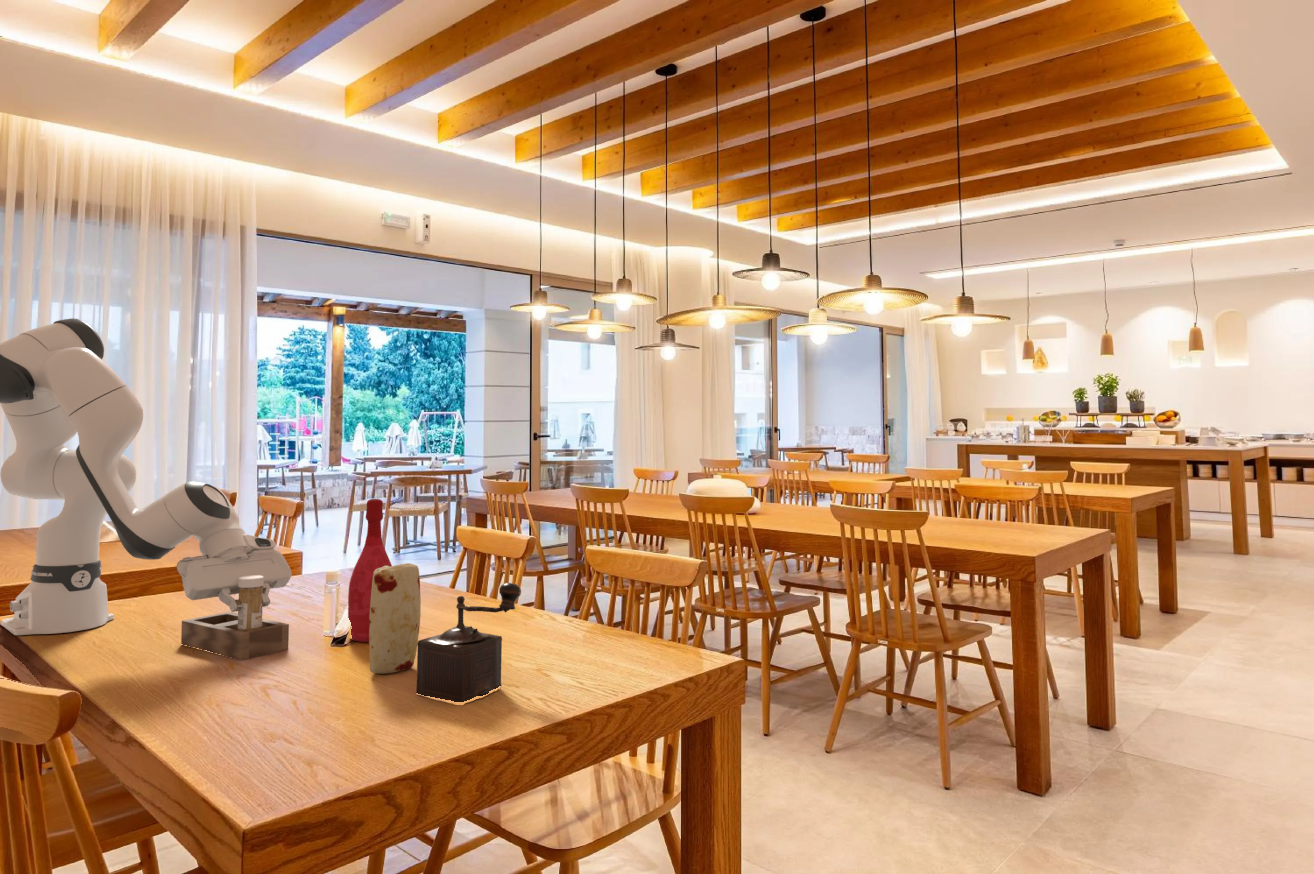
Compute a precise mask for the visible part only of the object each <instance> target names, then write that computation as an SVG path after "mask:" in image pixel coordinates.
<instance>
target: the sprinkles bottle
mask: <svg viewBox="0 0 1314 874" xmlns="http://www.w3.org/2000/svg"><path fill="white" fill-rule="evenodd" d="M263 585H264V577H263V576H260V575H248V576H242V577H239V578H238V587H239V588H238V589H239V594H238V599H240V601H241V602H240V603H241V604H242V608H241V609H240V611H237V613H238V630H239V631H243V632H246V631H251V630H255V629H260V628H262V619H263V607H262V588H263Z"/></svg>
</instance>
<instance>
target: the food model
mask: <svg viewBox="0 0 1314 874" xmlns="http://www.w3.org/2000/svg"><path fill="white" fill-rule="evenodd" d="M421 597H422V596H421V579H420V568H419V566H418V565H416V564H414V563H411V562H407V563H400V564H396V565H392V566H391V567H389V566H383V567H381V568H377V569H376V570H375V571H374V573H373V580H372V590H371V603H370V617H369V625H370V628H369V642H368V644H369V669H370V672H371V673H373V674H375V673H377V674H378V675H379V674H390V673H397V672H402V671H407V670H410V669H412V668H413V666H414V664H415V663H414V662H415V661H416V657H417V656H416V655H417V652H418V641H419V636H420V626H421V612H422V611H421V607H422V606H421V604H422V602H421Z"/></svg>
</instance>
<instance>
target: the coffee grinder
mask: <svg viewBox="0 0 1314 874" xmlns="http://www.w3.org/2000/svg"><path fill="white" fill-rule="evenodd" d="M499 594H500V596H501V603H500V604H499V605H498V607H493V606H492V607H487V606H480V605H479V606H473V605H472V606H467V605H465V603H464V602H465V600H466V598H465V596H462V595H458V596H457V599H456V602H457V604H456V609H457V613H458V614H457V616H458V617H457V625H456V626H454V627H451V628H449V629H447V630H444V632H442V633H441V634H437V635H434V636H429V637H425V638H423V639H420V640H419V639H418V644H417V652H416V655H417V656H416V657H417V658H416V662H417V663H416V692H415V694H416V693H418V694H421V695H424V696H430V697H435V698H440V699H445V700H451V701H454V702H464V701H467V700H470V699H472V698H474V697H476V696H483V695H486V694H488V693H489V691H491V690H493V689H496V688H498V687H499V686H502V654H503V653H502V652H503V651H502V649H503V648H502V647H503V645H502V643H503V637H502V636H501V635H497V634H492V633H491V634H490V633H485V632H480V631H479V630H478V628H474V627H473V626H471V625H470V626H468V625H465V623H464V611H466V612H483V613H485V612H486V613H499V612H504V613H508V611H510V610H516V606H515V605H516V604H515V603H516V601H517V600H518V599H519V597H520V596H521V594H522V589H521V587H520V585H518V584H516V583H512V582H506V583H503V584H501V585H500V587H499ZM502 687H503V686H502Z"/></svg>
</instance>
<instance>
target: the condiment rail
mask: <svg viewBox="0 0 1314 874" xmlns="http://www.w3.org/2000/svg"><path fill="white" fill-rule="evenodd" d="M289 625H290V624H289V623H285V622H279V621H277V620H276V621H275V620H271V619H267V618H262V628H260V629H255V630H251V631H246V632H243V631H239V630H238V612H231V611H225V612H220V613H216V614H215V613H214V614H210V615H205V616H200V617H194V618H190V619H185V620H184V619H183V620H181V634H180V635H181V639H180V640H181V641H180V645H181V644H183V645H187V646H190V647H195V648H199V649H202V650H207V651H210V652H213V653H212V654H214V653H217V654H221V655H224V656H223V657H225V656H227V657H226V658H229V657H232V658H231V659H233V658H235V660H237V659H238V660H239V661H245V660H250V659H253V657H254V658H257V657H261V656H265V655H269V654H274V653H278V652H281V651H285V650H289V641H290V640H289V637H290V635H289V634H290V633H289V632H290V629H289V627H290V626H289ZM190 647H189V648H190ZM202 650H201V651H202ZM210 652H209V653H210ZM217 654H216V655H217ZM221 655H220V656H221ZM249 658H250V659H249Z"/></svg>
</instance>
